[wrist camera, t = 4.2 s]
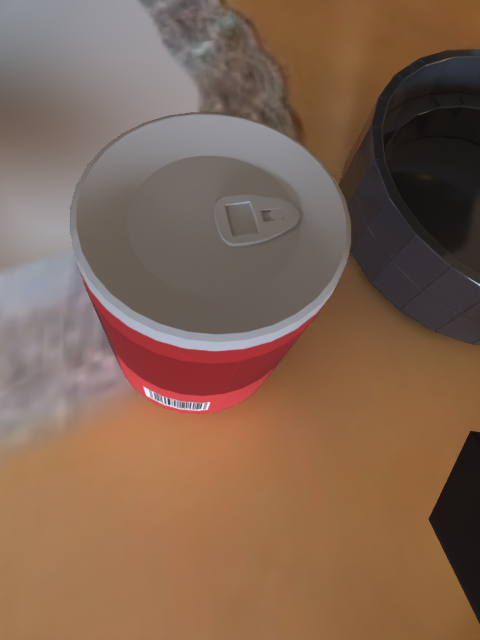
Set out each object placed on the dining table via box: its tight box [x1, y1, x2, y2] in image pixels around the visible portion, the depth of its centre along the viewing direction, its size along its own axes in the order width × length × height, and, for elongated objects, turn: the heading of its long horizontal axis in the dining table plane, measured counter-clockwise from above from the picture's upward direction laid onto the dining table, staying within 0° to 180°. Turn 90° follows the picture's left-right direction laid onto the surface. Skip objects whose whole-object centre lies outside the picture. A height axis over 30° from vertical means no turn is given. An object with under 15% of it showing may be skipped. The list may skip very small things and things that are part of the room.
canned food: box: [70, 113, 351, 414], centre depth 17 cm, size 8×8×11 cm
